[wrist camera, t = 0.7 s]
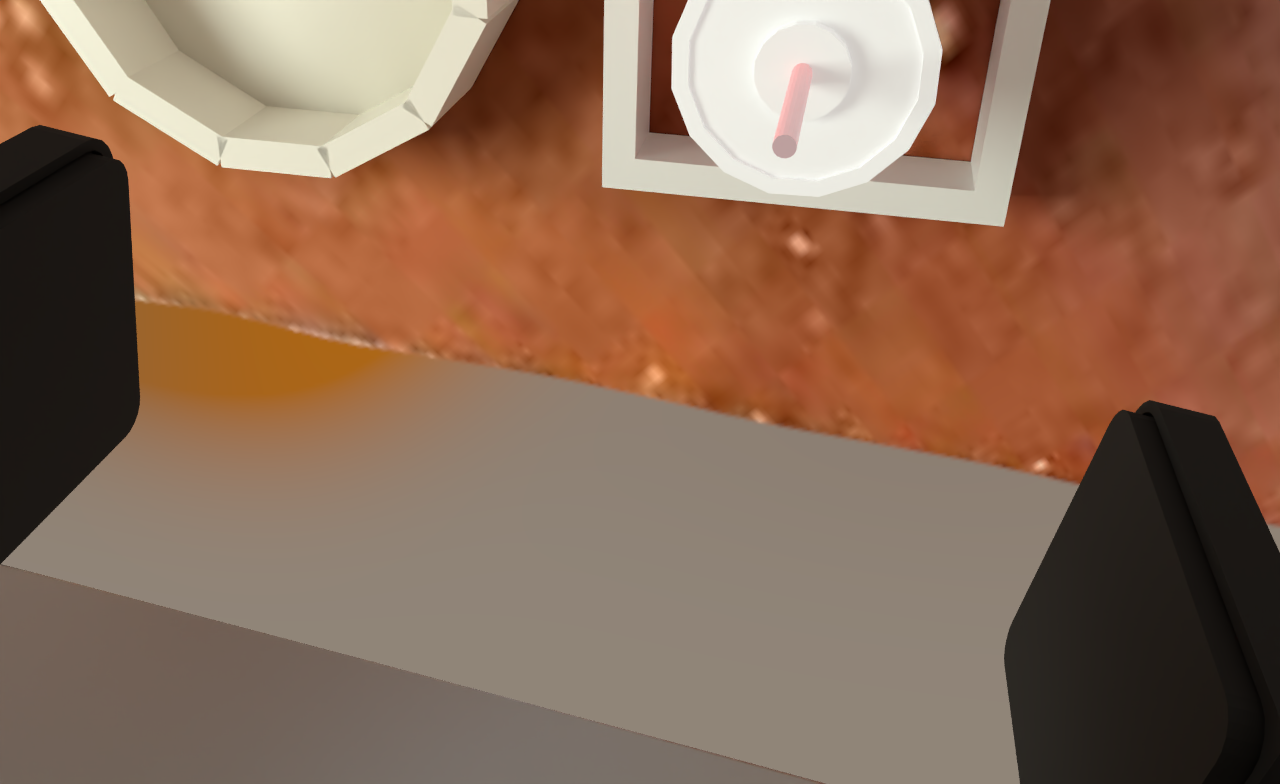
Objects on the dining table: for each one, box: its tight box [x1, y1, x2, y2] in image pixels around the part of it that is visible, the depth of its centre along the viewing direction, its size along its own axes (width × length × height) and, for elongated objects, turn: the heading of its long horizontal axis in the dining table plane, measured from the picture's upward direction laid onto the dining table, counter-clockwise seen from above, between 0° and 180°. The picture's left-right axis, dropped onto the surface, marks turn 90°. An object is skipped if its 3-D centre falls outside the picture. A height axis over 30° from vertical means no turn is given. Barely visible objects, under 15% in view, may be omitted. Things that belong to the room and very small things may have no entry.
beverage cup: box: [671, 0, 942, 197], centre depth 28 cm, size 6×6×14 cm
